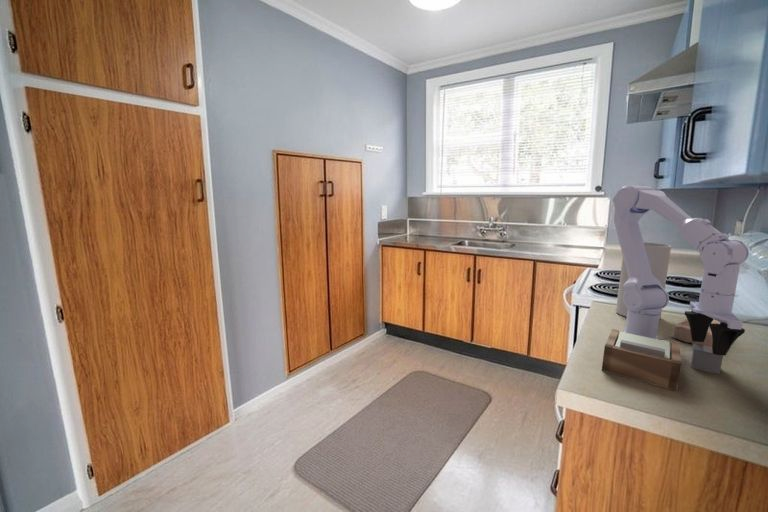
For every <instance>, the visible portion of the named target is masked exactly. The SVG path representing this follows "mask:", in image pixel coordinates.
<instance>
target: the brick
mask: <svg viewBox="0 0 768 512" xmlns="http://www.w3.org/2000/svg"><path fill="white" fill-rule="evenodd" d="M712 323H713V324H720V322H718V321H716V320H713V321H712ZM673 329H674V331H673V338H674V339H677V340H679V341H681V342H683V343H684V342H685V343H689V344H692V345H693V343H695V344H700V345H705V346H710V347H712V342H713V338H712V332H711V329H710V326H709V328H708V331H707V335H706V338H705V340H704V342H696V341H692V337H691V330H690V325H689V322H688V319H687V318H686V319H685V320H683V321H681V322H679V323H677V324H675V325H674V328H673Z"/></svg>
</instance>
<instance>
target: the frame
mask: <svg viewBox="0 0 768 512" xmlns="http://www.w3.org/2000/svg"><path fill="white" fill-rule="evenodd" d="M619 334H620V330H619V329H614V328H612V329H611V331H610V333H609V336H608V338H607V340H606V343H605V345H604V348H603V358H602V364H601V365H602V366H601V371H603V372H606V373H611V374H613V375H618V376H620V377H626V378H628V379H632V380H635V381H639V382H643V383H646V384H647V383H648V384H651V385H654V386H658V387H661V388H665V389H669V390H673V391H676V392H677V391H678V387H679V383H680V382H679V380H680V374H681V370H682V369H681V368H682V357H681V343H680V342H678V341H674V340H673V341H671V342H670V359H668V358H663V357H659V356H655V355H650V354H646V353H642V352H637V351H633V350H629V349H625V348H620V347H616V346H615V345H616V342H617V340H618V337H619Z"/></svg>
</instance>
